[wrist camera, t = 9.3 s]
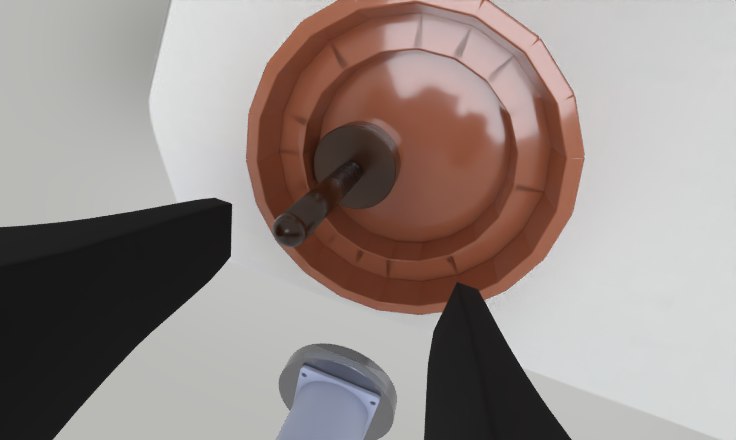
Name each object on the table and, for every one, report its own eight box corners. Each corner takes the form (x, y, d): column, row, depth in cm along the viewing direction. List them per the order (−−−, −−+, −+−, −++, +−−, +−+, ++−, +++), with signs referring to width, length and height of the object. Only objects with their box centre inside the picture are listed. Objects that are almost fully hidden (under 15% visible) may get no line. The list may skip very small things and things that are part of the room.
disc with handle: (365, 213, 20) (298, 317, 11) (309, 162, 19) (198, 232, 11) (417, 162, 18) (381, 244, 9) (356, 102, 17) (261, 133, 9)
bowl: (481, 291, 21) (487, 351, 16) (283, 221, 22) (240, 259, 18) (610, 51, 14) (679, 43, 10) (313, -23, 16) (256, -59, 11)
